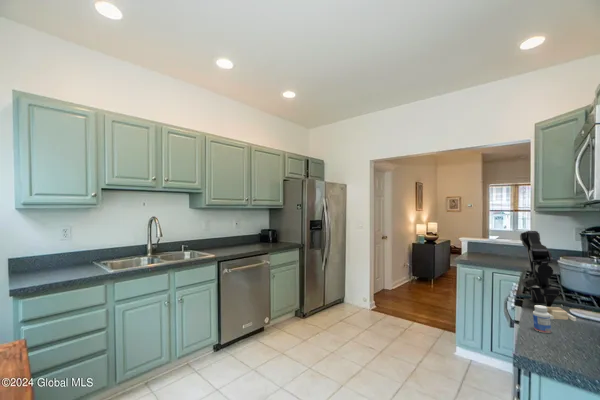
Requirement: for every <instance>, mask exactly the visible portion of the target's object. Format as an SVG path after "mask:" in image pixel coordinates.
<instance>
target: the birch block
mask: <svg viewBox="0 0 600 400" xmlns="http://www.w3.org/2000/svg"><path fill="white" fill-rule="evenodd" d="M546 307H547V306H546ZM547 312H548V313H549V314H551V315H552V316H553V317H554V320H564V321H565V320H566V321H567V320H569V318H568V314H569V313H568V312H567V311H566V310H564V309H563V308H562V307H559V306H558V307H557V306H551V307H547ZM567 313H568V314H567Z"/></svg>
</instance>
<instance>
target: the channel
mask: <svg viewBox="0 0 600 400" xmlns="http://www.w3.org/2000/svg"><path fill="white" fill-rule="evenodd" d="M567 314H568V320H571V321H573V322H577V317H576V316H573V315H572V314H570V313H569V312H567ZM550 320H552V321H553V320H555V319H554V317H553V316H552V315H551V314H550Z"/></svg>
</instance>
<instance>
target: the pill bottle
mask: <svg viewBox="0 0 600 400" xmlns="http://www.w3.org/2000/svg"><path fill="white" fill-rule="evenodd" d="M533 307H534V310H533V311H532V319H533V328H534V330H535V331H536V332H538V331H539V333H542V334H551V333H552V323H551V319H550V314H549V313H548V312H547V306H545V305H539V304H536V305H534V306H533Z"/></svg>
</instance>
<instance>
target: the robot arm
mask: <svg viewBox="0 0 600 400" xmlns="http://www.w3.org/2000/svg"><path fill="white" fill-rule="evenodd" d="M519 238H520V240H519V241H520V242H521V243H522V246H523V247H524V248H525V249H526V252H527V259H528V264H529V265H528V266H529V270H530V272H529V273H528V277H525V278H522V279H520V280H519V281H520V283H521V286H522V287H525V288H526V289H528V291H530V296H531V297H529V298H528V300H530V301H531V302H533V303H539V304H545V305H546V307H552V306H553V304H554V302H555V300H556V299H557V297H559V296H560V295H561V290H560V289H559V288H557V287H555V286H553V285H552V283H550V279H551V278H552V275H553V274H554V269H553V268H552V267H551V266H550V265H549V263H550V264H552V263H553V262H554V258H553V255H552V252H551V251H550V249H549V250H548V247H547V245H544V244H542V242H541V236H540V232H538V231H537V230H527V231H524V232H521V233H520V234H519Z"/></svg>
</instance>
